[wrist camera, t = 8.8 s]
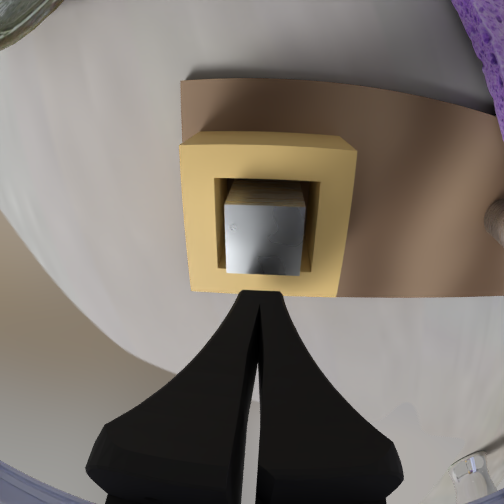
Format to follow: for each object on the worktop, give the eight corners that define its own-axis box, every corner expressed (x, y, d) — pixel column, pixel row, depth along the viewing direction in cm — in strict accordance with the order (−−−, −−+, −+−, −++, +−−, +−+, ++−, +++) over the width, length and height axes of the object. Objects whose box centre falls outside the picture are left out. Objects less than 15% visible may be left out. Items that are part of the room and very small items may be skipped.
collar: (339, 136, 12) (357, 150, 9) (326, 258, 15) (336, 297, 12) (199, 131, 12) (179, 145, 10) (205, 253, 15) (191, 290, 12)
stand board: (548, 136, 11) (603, 161, 7) (505, 289, 16) (540, 336, 12) (184, 80, 12) (142, 81, 8) (196, 284, 17) (175, 347, 13)
